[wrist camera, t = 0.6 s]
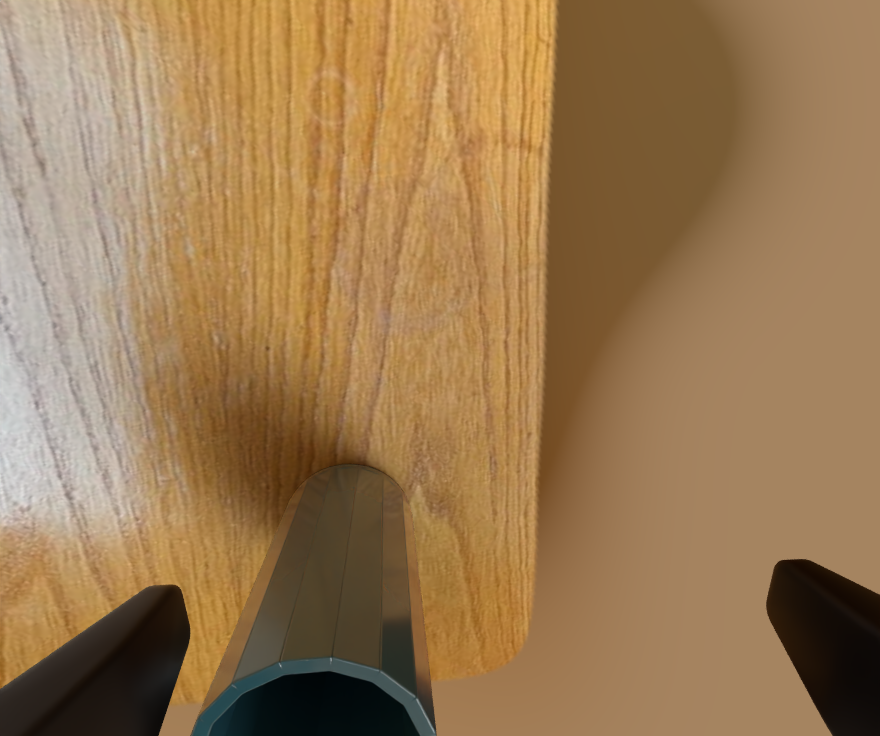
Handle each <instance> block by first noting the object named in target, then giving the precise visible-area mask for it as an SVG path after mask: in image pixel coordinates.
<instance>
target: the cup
mask: <svg viewBox="0 0 880 736" xmlns="http://www.w3.org/2000/svg"><path fill="white" fill-rule="evenodd" d="M191 736H436V725H435V717H434V707H433V698H432V689H431V680H430V671H429V662H428V653H427V643H426V634H425V625H424V616H423V607H422V598H421V589H420V580H419V571H418V562H417V553H416V544H415V535H414V526H413V517H412V512H411V509H410V505H409V502H408V500H407V498H406V496H405V494H404V492H403V491H402V489H401V488H400V487H399V485H398V484H397V483H396V482H395V481H394V480H393V479H391V478H390V477H389V476H387V475H386V474H384V473H382V472H381V471H379V470H376V469H374V468H371V467H368V466H364V465H357V464H342V465H336V466H332V467H328V468H326V469H323V470H321V471H319V472H317V473H315V474H313V475H312V476H310V477H309V478H308V479H306V480H305V481H304V482H303V483H302V484H301V485H300V486H299V487H298V489H297V490H296V491H295V493H294V494H293V496H292V497H291V499H290V501H289V503H288V505H287V508H286V510H285V512H284V515H283V517H282V519H281V522H280V524H279V526H278V529H277V531H276V533H275V536H274V538H273V541H272V543H271V545H270V548H269V550H268V552H267V555H266V557H265V559H264V562H263V564H262V566H261V569H260V571H259V573H258V576H257V578H256V581H255V583H254V585H253V588H252V590H251V592H250V595H249V597H248V599H247V602H246V604H245V606H244V609H243V611H242V614H241V616H240V618H239V621H238V623H237V625H236V628H235V630H234V632H233V635H232V637H231V639H230V642H229V644H228V646H227V649H226V651H225V654H224V656H223V658H222V661H221V663H220V665H219V668H218V670H217V672H216V675H215V677H214V679H213V682H212V684H211V686H210V689H209V691H208V694H207V696H206V698H205V701H204V703H203V705H202V708H201V710H200V712H199V715H198V717H197V720H196V722H195V725H194V728H193V730H192V733H191Z"/></svg>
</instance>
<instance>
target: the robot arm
mask: <svg viewBox="0 0 880 736" xmlns="http://www.w3.org/2000/svg"><path fill="white" fill-rule="evenodd" d="M766 607H767V614H768V616H769V619H770V621H771V623H772V625H773V627H774V629H775V631H776V633H777V635H778V637H779V638H780V640H781V642H782V644H783V646H784V648H785V650H786V652H787V653H788V655H789V657H790V659H791V661H792V663H793V665H794V666H795V668H796V670H797V672H798V674H799V676H800V678H801V680H802V682H803V684H804V685H805V687H806V689H807V691H808V693H809V695H810V697H811V699H812V700H813V702H814V704H815V706H816V708H817V710H818V711H819V713H820V715H821V717H822V719H823V720H824V722H825V724H826V725H827V727H828V729H829V730H830V732H831V734H832V735H833V736H880V595H879V594H877V593H875V592H873V591H871V590H869V589H867V588H865V587H863V586H861V585H859V584H857V583H855V582H853V581H851V580H849V579H847V578H845V577H843V576H841V575H839V574H837V573H835V572H833V571H830V570H828V569H826V568H824V567H822V566H820V565H818V564H816V563H814V562H812V561H810V560H806V559H794V560H781V561H779V562H778V563H777V564H776V565H775V567H774V571H773V575H772V579H771V584H770V588H769V592H768V597H767V602H766ZM189 640H190V624H189V620H188V616H187V611H186V607H185V603H184V599H183V594H182V591H181V589H180V588H179V587H178V586H176V585H153V586H149V587H147V588H145V589H144V590H142V591H141V592H139V593H138V594H136V595H135V596H133V597H132V598H131V599H129V600H128V601H126V602H125V603H123V604H122V605H120V606H119V607H118V608H116V609H115V610H113V611H112V612H110V613H109V614H108V615H106V616H105V617H103V618H102V619H100V620H99V621H97V622H96V623H95V624H93V625H92V626H90V627H89V628H87V629H86V630H85V631H83V632H82V633H80V634H79V635H77V636H76V637H74V638H73V639H72V640H70V641H69V642H67V643H66V644H64V645H63V646H62V647H60V648H59V649H57V650H56V651H54V652H53V653H51V654H50V655H49V656H47V657H46V658H44V659H43V660H41V661H40V662H39V663H37V664H36V665H34V666H33V667H31V668H30V669H28V670H27V671H26V672H24V673H23V674H21V675H20V676H18V677H17V678H16V679H14V680H13V681H11V682H10V683H8V684H7V685H5V686H4V687H3V688H1V689H0V736H158V735H159V732H160V729H161V726H162V723H163V720H164V717H165V714H166V711H167V708H168V705H169V702H170V699H171V696H172V693H173V690H174V687H175V684H176V681H177V678H178V675H179V672H180V669H181V666H182V663H183V660H184V657H185V654H186V651H187V648H188V644H189Z"/></svg>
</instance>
